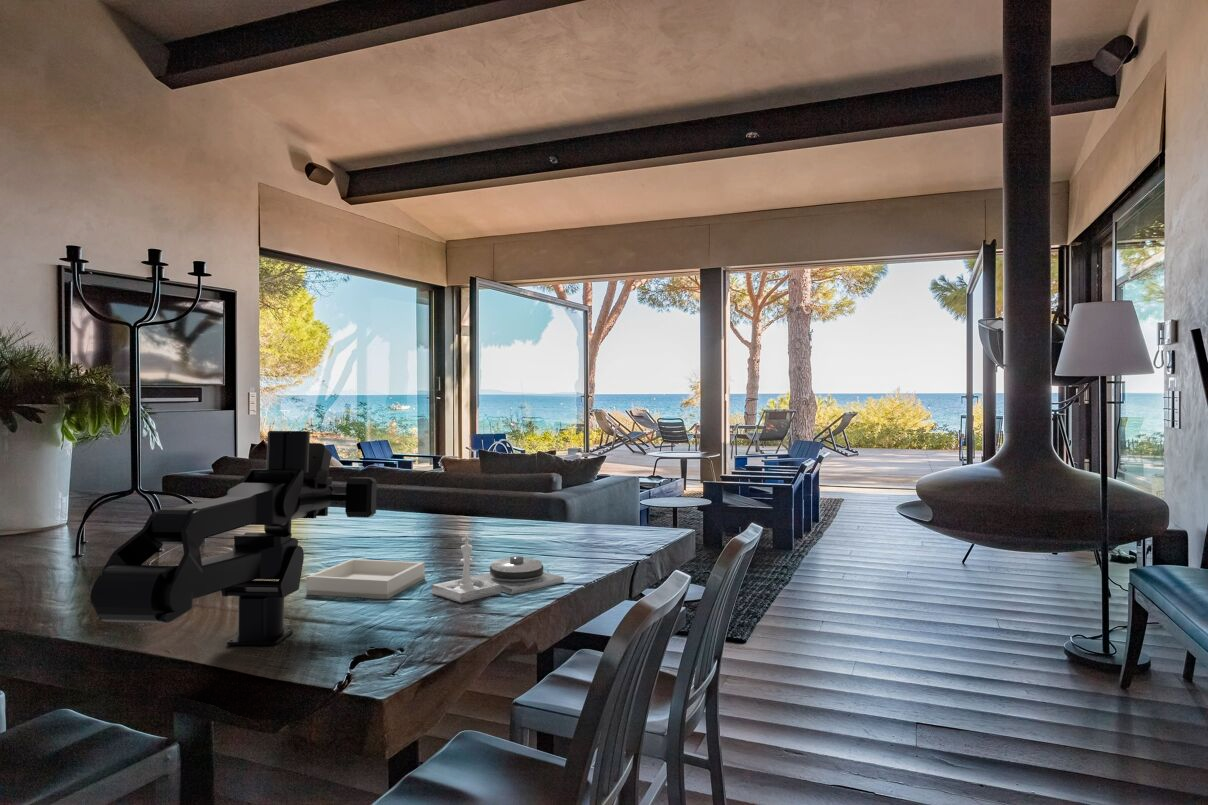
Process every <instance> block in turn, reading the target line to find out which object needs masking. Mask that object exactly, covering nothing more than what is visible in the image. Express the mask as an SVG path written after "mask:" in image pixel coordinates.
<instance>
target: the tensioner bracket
mask: <svg viewBox="0 0 1208 805" xmlns="http://www.w3.org/2000/svg"><path fill="white" fill-rule="evenodd" d="M564 580H565V577H564V576H562V575H557V574H553V573H549V572H545V571H544V565H543V562H542V561H541V560H539V559H534V558H529V557H527V558H526V557H524V556H519V555H516V556H515V555H514V556H510V557H508V558H502V559H496V560H494V561H492V562H491V565H490V566H489V572H488V573H487V572H486V573H482V574H477V575H471V582H472V583H473V586H477V587H479V588H477V589H472V590H467V591H463V592H461V591H458V590H455V589H454V588H455V587H458V586H461V585H460V583H461V582H462V578H459V579H453V580H449V581H445V582H444V581H443V582H439V583H434V584H433V583H432V585H431V594H432V595H435V596H439V597H442V598H445V599H448V600H451V601H453V602H454V601H455V602H457V603H460V604H462V603H465V602H471V601H475V600H478V599H482V598H486V597H487V598H488V597H492V596H496V595H499V594H501V593H505V594H508V595H511V596H513V595H517V594H520V593H524V592H529V591H533V590H538V589H541V588H547V587H550V586H554V585H560V584H562V583H564V582H565V581H564Z"/></svg>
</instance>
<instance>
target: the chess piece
mask: <svg viewBox="0 0 1208 805" xmlns="http://www.w3.org/2000/svg"><path fill="white" fill-rule="evenodd" d="M461 541H462V542H464V544H463V545H461V546H460V551H461V553H462V556H463V558H461V559H460V563H463V569H462V574H461V575H462V577H461V579H462V582H461V583H460V585H461V586H458V587H455V588H454V589H455V590H458V591H461V592H463V591H467V590H472V589H477V588H479V587H477V586H473V583H472V582H471V577H472V575H471V566H470V563H473V561H474V560H473V558H471V554H472V550H473V545H471V544H469V542H472V541H473V538H472V537H471V538H470V537H469V534H465V535H464V537H462V538H461Z"/></svg>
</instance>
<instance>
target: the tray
mask: <svg viewBox="0 0 1208 805" xmlns="http://www.w3.org/2000/svg"><path fill="white" fill-rule="evenodd" d="M425 563H426V562H423V561H405V560H404V561H400V560H384V559H383V560H381V559H364V558H363V559H361V558H360V559H359V558H350V559H348V560H345V561H343V562H340V563H338V564H335V565H333V566H330V567H328V568H325V569H323V570H320V571H317V572H315V573H312V574H310V575H307V576H306V587H305V588H306V593H305V594H306V595H307V596H308V595H309V596H310V595H311V596H324V597H327V596H328V597H339V598H340V597H344V598H357V597H359V598H360V597H361V598H360V599H375V600H377V599H378V600H388V599H391V598H392V597H395V595H398V594H400V593H401V592H403V591H406V590H407V589H409V588H410V587H412V586H414V585H416V584H418V583H419V582H421V581H423V580H424V579H425V578H426V564H425Z"/></svg>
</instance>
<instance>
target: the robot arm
mask: <svg viewBox="0 0 1208 805" xmlns="http://www.w3.org/2000/svg"><path fill="white" fill-rule="evenodd" d="M310 439H311V431H308V430H307V431H306V430H268V431H267V438H266V440H267V442H266V464H265V465H266V466H265V468H250V469H248V471H247V472H246V474H244V476H243V478H240V480H239V482H238V484H237V485H235V486H232V487H231V488H229V489H228V490H227V494H226V495H224V496H221V497H217V498H213V499H207V500H203V501H199V502H194V503H189V504H185V505H180V506H175V507H163V508H160V509H156V510H155V511H152V513H151V514H150V515H149V517H148V519H147V520H146V522H145V524H144V525H143V527H142V529H141V530H140V531H139V530H138V532H137V533H136V534H134V535H133V536H132V537H131V538H129V539H128V540H127V541H125V542H124V543H123V544H122V545H121V546H119V547H118V548H117V549H115V550H114V551H113V553H111V555H110V557H109V558H108V560H107V562H106V563H105V565H104V567H103V568H102V570H101V572H100V573H99V575H98V577H97V579H96V580H95V582H94V584H93V586H92V588H91V590H90V596H89V597H90V603H91V605H92V606H93V609H95V613H96V615H97V616H98V620H99V621H102V622H107V623H108V622H110V623H111V622H113V623H114V622H115V623H118V622H119V623H157V624H158V623H159V624H160V623H164V624H168V623H171V622H174V621H175V620H177V619H178V618H180V617H182V616H184V615H185V614H186V613H188V612H190V611H191V610H192V609H193V604H194V600H195V599H198V598H201V597H205V596H208V595H211V594H214V593H217V592H221V596H222V597H237V634H236V635H233V636H232V637H231V638H230V639H228V640H226V646H274V645H278V643H280V642H281V641H283V640H284V639H285V638H286V637H287V636H289V635H290V634H291V633H292V632H294V627H293V626H285V598H286V597H287V596H289V595H291V594H294V593H295V592H297V591H299V589H300V584H301V579H302V578H301V577H302V573H303V571H302V570H303V565H304V559H305V554H304V549H303V547H302V546H301V545H299V540H298V539H297V538H295V537H292V521H293V520H298V519H317V517H328V515H329V514H328V513H329V512H328V511H329V507H330V506H331V504H332V501H334V502H335V501H336V502H337V501H339V502H345V510H344V511H345V515H346V516H347V518H370V517H371V518H372V517H373V516H374V515H376V513H377V488H378V485H377V483H378V482H377V480H376V478H374V477H348V478H347V482H346V485H333V484H332V483H333V478H332V477H329V470H330V466H331V465H330V464H331V460H332V458H333V453H332V451H331V450H330V449H329V448H328V447H326V446H325V445H324V443H321V442H311V441H310ZM247 526H264V529H263V530H264V532H245V533H243V535H234V536H233V539H234V540H233V542H234V544H233V545H232V549H231V550H232V551H227V552H223V553H219V554H215V555H211V556H207V557H205V556H204V557H201V551H200V550H201V549H200V548H201V547H202V546H201V545H202V544H203V542H204V540H205V539H207V538H211V537H213V536H217V535H220V534H223V533H226V532H230V531H233V530H236V529H240V528H244V527H247ZM166 544H167V545H182V550H183V556H182V558H181V560H180V561H179V563H177V564H173V565H172V564H171V565H158V564H157V565H153V564H152V565H150V564H149V565H148V564H147V565H145V564H144V563H145V562H147V561H148V560H149V559H151V558H152V557H153V556H154V555H155V554H157V553H158V552H159V551H160V550H161V549H162V547H163V545H166Z"/></svg>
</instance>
